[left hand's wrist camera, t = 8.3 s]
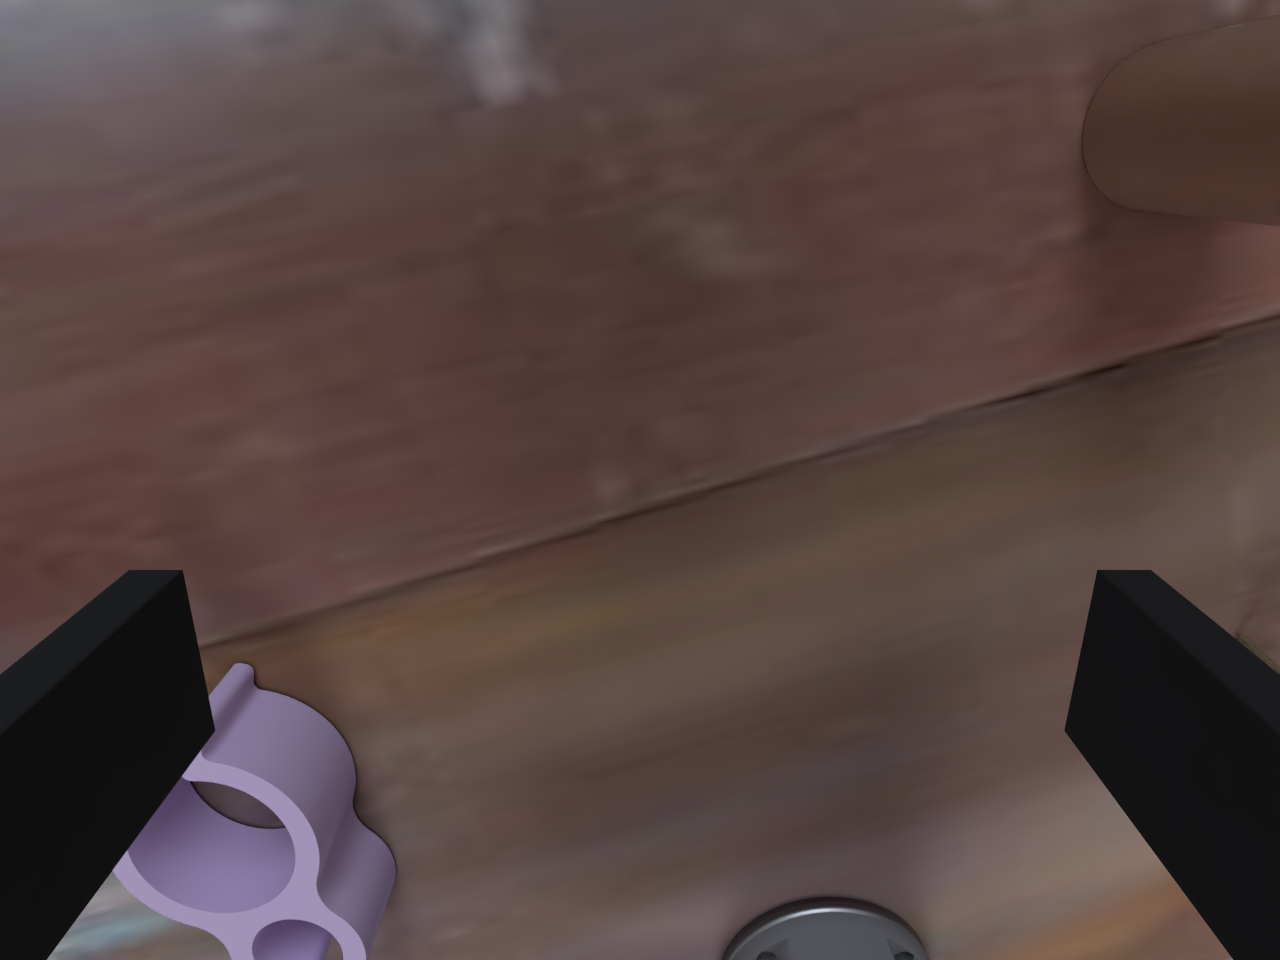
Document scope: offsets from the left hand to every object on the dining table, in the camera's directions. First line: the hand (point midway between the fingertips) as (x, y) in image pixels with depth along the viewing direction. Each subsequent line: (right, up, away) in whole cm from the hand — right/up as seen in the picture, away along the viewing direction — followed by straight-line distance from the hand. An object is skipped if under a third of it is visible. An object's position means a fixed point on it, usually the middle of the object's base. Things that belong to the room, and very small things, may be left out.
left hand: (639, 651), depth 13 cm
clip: (-24, -19, +45) cm, 54 cm away
